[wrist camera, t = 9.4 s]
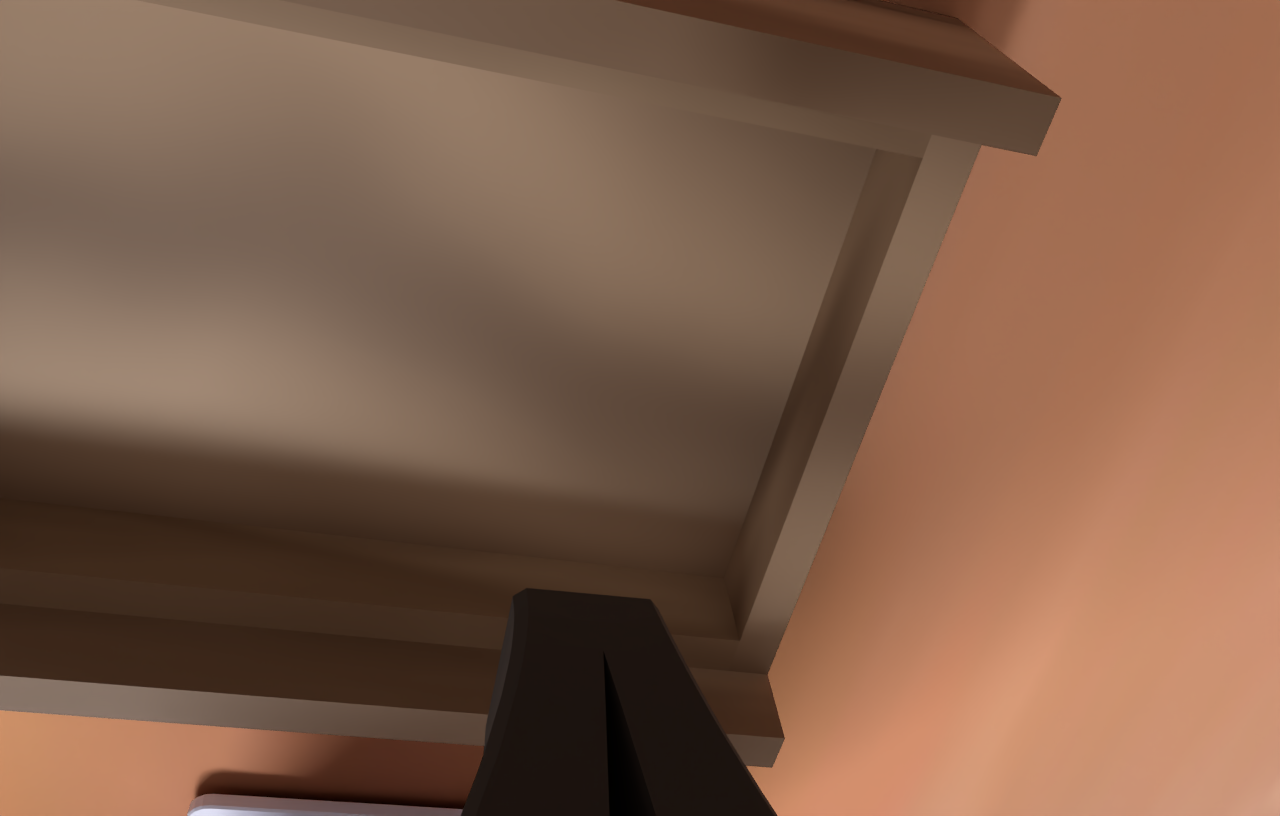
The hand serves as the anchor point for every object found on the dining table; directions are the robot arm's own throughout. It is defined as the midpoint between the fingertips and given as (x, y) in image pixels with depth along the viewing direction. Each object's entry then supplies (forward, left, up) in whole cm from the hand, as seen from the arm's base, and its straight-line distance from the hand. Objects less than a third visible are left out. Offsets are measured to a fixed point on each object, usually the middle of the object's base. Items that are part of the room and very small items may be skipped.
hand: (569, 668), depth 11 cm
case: (-2, +2, -10) cm, 10 cm away
